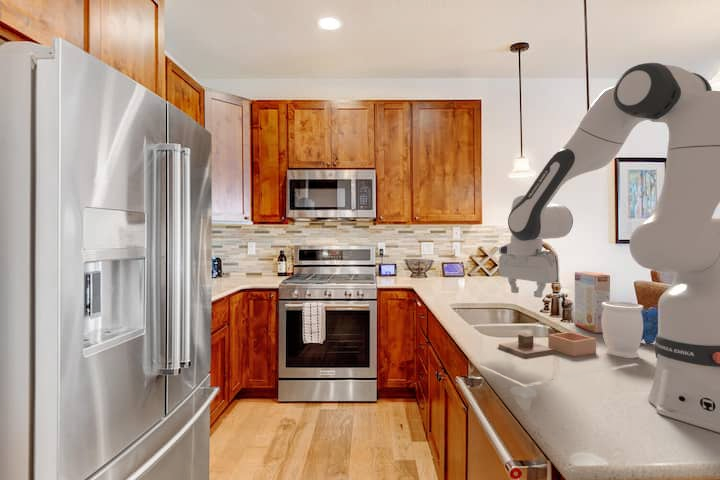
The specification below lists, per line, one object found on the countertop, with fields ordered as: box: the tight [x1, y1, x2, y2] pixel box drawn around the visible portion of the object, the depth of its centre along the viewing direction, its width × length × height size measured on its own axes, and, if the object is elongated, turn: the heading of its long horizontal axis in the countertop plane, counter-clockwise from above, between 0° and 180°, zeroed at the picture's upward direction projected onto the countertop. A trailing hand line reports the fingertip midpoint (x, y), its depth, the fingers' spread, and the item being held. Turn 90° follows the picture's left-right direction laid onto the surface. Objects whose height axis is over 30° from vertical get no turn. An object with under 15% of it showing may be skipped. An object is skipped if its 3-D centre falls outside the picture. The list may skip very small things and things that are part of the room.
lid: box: [498, 333, 555, 359], centre depth 124 cm, size 11×11×5 cm
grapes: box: [641, 306, 658, 345], centre depth 133 cm, size 12×7×12 cm, turn 49°
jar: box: [601, 301, 644, 359], centre depth 121 cm, size 11×10×15 cm
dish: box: [547, 331, 597, 358], centre depth 123 cm, size 9×9×5 cm
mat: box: [497, 346, 558, 360], centre depth 124 cm, size 12×12×1 cm
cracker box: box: [573, 271, 611, 334], centre depth 153 cm, size 14×6×21 cm, turn 179°
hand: (526, 294), depth 124 cm, fingers open, 8 cm apart
